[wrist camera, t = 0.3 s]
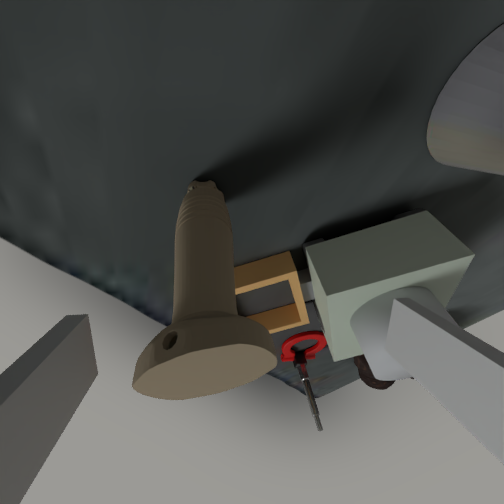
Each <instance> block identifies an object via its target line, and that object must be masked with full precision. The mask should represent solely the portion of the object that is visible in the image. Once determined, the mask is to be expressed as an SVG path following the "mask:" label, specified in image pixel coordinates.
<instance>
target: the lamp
mask: <svg viewBox="0 0 504 504" xmlns="http://www.w3.org/2000/svg"><path fill="white" fill-rule="evenodd" d="M427 145H428V149H429V151H430V154H431V156H432V157H433V158H434V159H435V160H436V161H438V162H440V163H442V164H444V165H448V166H454V167H459V168H465V169H471V170H476V171H482V172H487V173H493V174H498V175H504V24H503V25H501V26H500V27H498V28H497V29H496V30H495V31H493V32H492V33H491V34H490V35H489V36H488V37H486V38H485V39H484V40H483V41H482V42H480V43H479V44H478V45H477V46H476V47H475V48H474V49H473V50H472V51H471V52H470V54H469V55H468V56H467V57H466V58H465V59H464V60H463V61H462V62H461V64H460V65H459V66H458V67H457V69H456V70H455V71H454V73H453V74H452V75H451V76H450V78H449V79H448V81H447V83H446V84H445V86H444V87H443V89H442V91H441V92H440V94H439V96H438V98H437V101H436V103H435V105H434V107H433V109H432V113H431V116H430V119H429V122H428V129H427Z"/></svg>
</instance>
